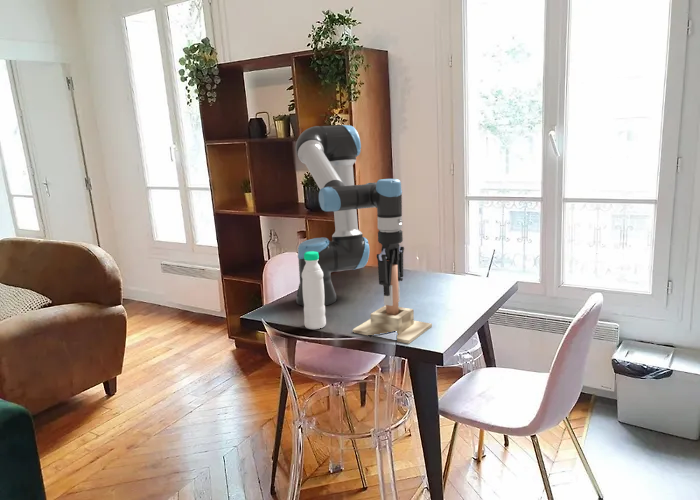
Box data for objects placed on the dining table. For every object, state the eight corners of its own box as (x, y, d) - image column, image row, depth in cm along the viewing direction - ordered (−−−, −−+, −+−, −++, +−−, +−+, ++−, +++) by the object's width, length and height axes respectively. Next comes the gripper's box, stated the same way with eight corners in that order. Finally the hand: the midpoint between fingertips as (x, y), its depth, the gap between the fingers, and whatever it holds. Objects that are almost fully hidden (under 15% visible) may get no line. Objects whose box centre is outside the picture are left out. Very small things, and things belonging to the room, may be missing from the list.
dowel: (383, 315, 172) (382, 265, 169) (389, 311, 176) (388, 263, 172) (394, 316, 170) (393, 267, 167) (400, 313, 173) (399, 264, 170)
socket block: (352, 332, 173) (351, 314, 172) (378, 317, 186) (377, 300, 185) (409, 343, 162) (408, 324, 161) (432, 326, 175) (431, 308, 174)
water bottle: (326, 321, 183) (322, 249, 178) (326, 329, 177) (322, 254, 171) (305, 323, 183) (300, 250, 178) (304, 330, 176) (299, 255, 171)
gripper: (387, 235, 158) (389, 312, 163) (413, 226, 172) (414, 297, 177) (365, 234, 162) (367, 309, 167) (392, 224, 176) (394, 294, 181)
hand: (392, 302), depth 172 cm, fingers closed on dowel, 4 cm apart
